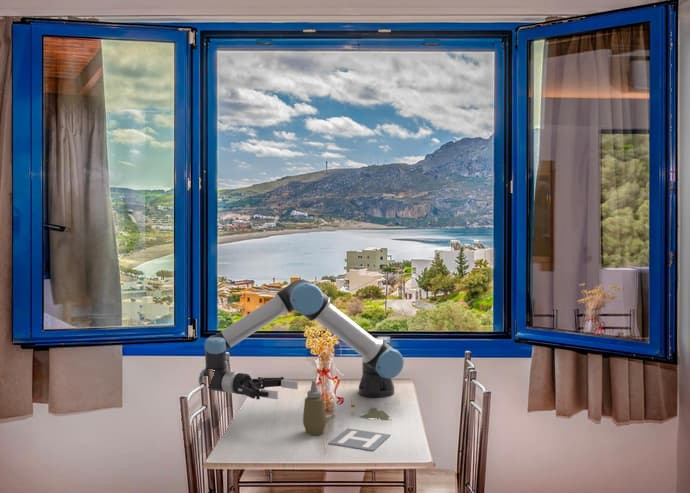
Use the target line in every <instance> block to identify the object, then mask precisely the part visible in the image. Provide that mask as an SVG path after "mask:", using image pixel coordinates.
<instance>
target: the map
mask: <svg viewBox="0 0 690 493" xmlns="http://www.w3.org/2000/svg"><path fill="white" fill-rule="evenodd" d="M368 410H369V412H368V413H365V414H362V415H360V416H361V417H360V418H362V417H363V418H365V419H368V418H377V419H376V420H381V421H392V419H389V418H391V416H389V414H387V413H386V412H385V411H384V410H378V409H377V407H372V408H369V409H368ZM379 418H380V419H379Z"/></svg>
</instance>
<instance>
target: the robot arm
mask: <svg viewBox="0 0 690 493" xmlns="http://www.w3.org/2000/svg"><path fill="white" fill-rule="evenodd" d="M294 311H296V312H297V313H299V314H301V315H302V316H304V317H305V318H307V319H308V320H309V321H310V322H317V323H319V324H320V325H321V326H323V327H324V328H325V329H327V330H328V331H329V332H331V333H332V334H333V335H335V337H337V338H338V339H340V340H341V341H342V342H344V343H345V344H346V345H348V347H349V348H351V349H352V350H354V351H355V352H356V353H357V354H359V355H360V356H361V359H362V360H361V362H362V363H361V364H362V366H361V367H362V370H361V371H362V373H361V374H362V375H361V378H360V381H359V385H358V393H359V395H361V396H364V397H368V398H386V397H390V396H392V395H394V394H395V385H394V382H393V380H392V379H393V378H395V377H397V376H399V374H400V373H402V371H403V369H404V365H405V364H404V363H405V362H404V357H403V355H402V354H401V351H399V350H398V349H395V348H394V347H393V346H391V341H390V339H389V337H374V336H373V335H371V334H370V333H369V332H368V331H366V330H365V329H364V328H362V327H361V326H360V325H359V324H358V323H356V322H355V321H353V320H352V318H350V317H349V316H347V315H346V314H345V313H344V312H342V311H341V310H339V308H337V307H336V306H335V305H333V304H332V303H331V298H330V297H329V296H328V295H327V294H326V293H325V292H324V291H322V290H321V289H320V287H318V286H317V285H316V284H314V283H312V282H309V281H307V280H304V279H297V280H294V281H292V282H291V283H289V284H288V285H286V286H285V287H283V288H282V289H280V290H279V291H278V292H275V295H274V297H273V298H272V299H270V300H267V302H265V303H263V304H262V305H260V306H258V307H257V308H256V309H254V310H252V311H251V312H250V313H247V314H246V315H244V316H242V318H240V319H239V320H237V321H235V322H233V323H232V324H231V325H229V326H228V327H226V328H224V329H222V330H221V331H220V332H218V333H217V334H215V335H210V336H209V337H207V338H206V340H205V342H204V345H203V346H204V354H205V355H204V356H205V359H204V360H205V368H204V369H202V370H201V372H200V373H199V377H198V383H199V384H198V385H199V386H200V387H201V381H200V377H201V376H208V369H213V370H215V371H213V372H214V376H213V378H212V380H211V384H210V389H211V390H213V391H214V392H222V393H229V395H233V394H236V395H241V396H246V397H249V398H251V399H253V400H254V399H256V400H261V398H265V399H271V400H278V399H279V390H273V389H268V388H273V387H274V388H276V387H280V388H285V389H292V390H297V389H298V388H299V383H298V382H299V381H297V380H290V379H285V377H283V376H280V377H260V376H258V377H257V378H252V376H250V374H248V373H242V372H238V371H237V372H236V371H227V361H226V360H227V351H228V350H230V349H232V348H233V347H234V346H236V345H237V344H239V343H240V342H242V341H243V340H245V339H247V338H248V337H249V336H251V335H252V334H254V333H255V332H258V331H259V330H260V329H262V328H263V327H266V326H267V325H269V324H270V323H271V322H273V321H275V320H277V318H278V319H279V317H281V316H282V315H284V314H290V313H292V312H294ZM208 388H209V387H208ZM266 388H267V389H266ZM211 390H210V391H211Z"/></svg>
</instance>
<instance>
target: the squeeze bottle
mask: <svg viewBox="0 0 690 493" xmlns="http://www.w3.org/2000/svg"><path fill="white" fill-rule="evenodd" d="M326 415H327V414H326V409H325V399H324V397H322V391H321V390H320V389H318V385H317V382H316V380H312V381H311V386H310V389H309V390H307V396H306V398H304V406H303V416H302V423H303V427H304V430H305V432H306V434H307V435H310V436H320V435H322V434H323V433H324V431H325V427H326V424H327V416H326Z"/></svg>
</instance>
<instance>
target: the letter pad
mask: <svg viewBox="0 0 690 493" xmlns="http://www.w3.org/2000/svg"><path fill="white" fill-rule="evenodd" d="M390 437H391V434H390V433H388V434H387V433H382V432H375V431H368V430H361V429H354V428H350V427H349V428H346V429H345V430H343V431H342V432H341V433H339V434H338V435H337V436H336V437H334V438H333V439H332V440H330V441H329V442H328V445H334V446H338V447H339V446H340V447H345V448H350V449H351V448H352V449H357V450H364V451H369V452H375V450H377V448H379V447H380V446H381V445H382V444H383V443H384V442H385V441H387V439H389V438H390Z"/></svg>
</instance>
